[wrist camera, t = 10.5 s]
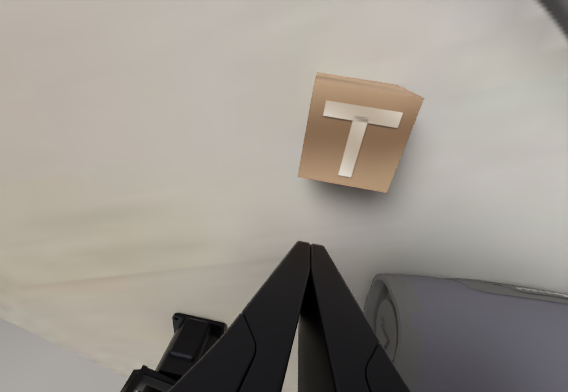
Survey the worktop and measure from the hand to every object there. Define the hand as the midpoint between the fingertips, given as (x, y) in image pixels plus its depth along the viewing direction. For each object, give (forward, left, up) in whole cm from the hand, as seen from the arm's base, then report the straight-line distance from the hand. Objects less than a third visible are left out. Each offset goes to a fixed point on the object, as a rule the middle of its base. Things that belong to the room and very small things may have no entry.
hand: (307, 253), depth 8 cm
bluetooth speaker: (-11, -19, -12) cm, 25 cm away
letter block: (+2, -2, -12) cm, 12 cm away
